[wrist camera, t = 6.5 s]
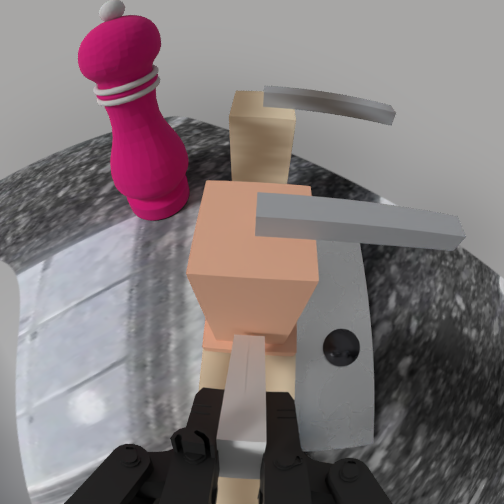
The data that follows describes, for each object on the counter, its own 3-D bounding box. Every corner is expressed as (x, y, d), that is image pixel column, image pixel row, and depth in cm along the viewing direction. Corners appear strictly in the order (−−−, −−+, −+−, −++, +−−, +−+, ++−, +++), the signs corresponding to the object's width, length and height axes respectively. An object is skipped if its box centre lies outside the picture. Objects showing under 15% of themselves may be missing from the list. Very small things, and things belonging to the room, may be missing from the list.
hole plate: (349, 211, 26) (352, 203, 25) (367, 442, 15) (373, 443, 14) (289, 206, 26) (291, 198, 25) (287, 449, 15) (289, 452, 14)
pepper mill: (129, 234, 24) (43, 27, 7) (126, 184, 27) (72, 15, 10) (201, 213, 25) (168, -16, 8) (187, 166, 29) (161, -13, 12)
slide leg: (362, 287, 19) (441, 180, 9) (368, 354, 16) (481, 284, 7) (213, 280, 19) (185, 152, 10) (205, 350, 16) (147, 270, 7)
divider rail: (340, 214, 25) (383, 95, 14) (349, 505, 12) (452, 572, 1) (226, 206, 26) (217, 76, 14) (196, 506, 12) (132, 605, 1)
